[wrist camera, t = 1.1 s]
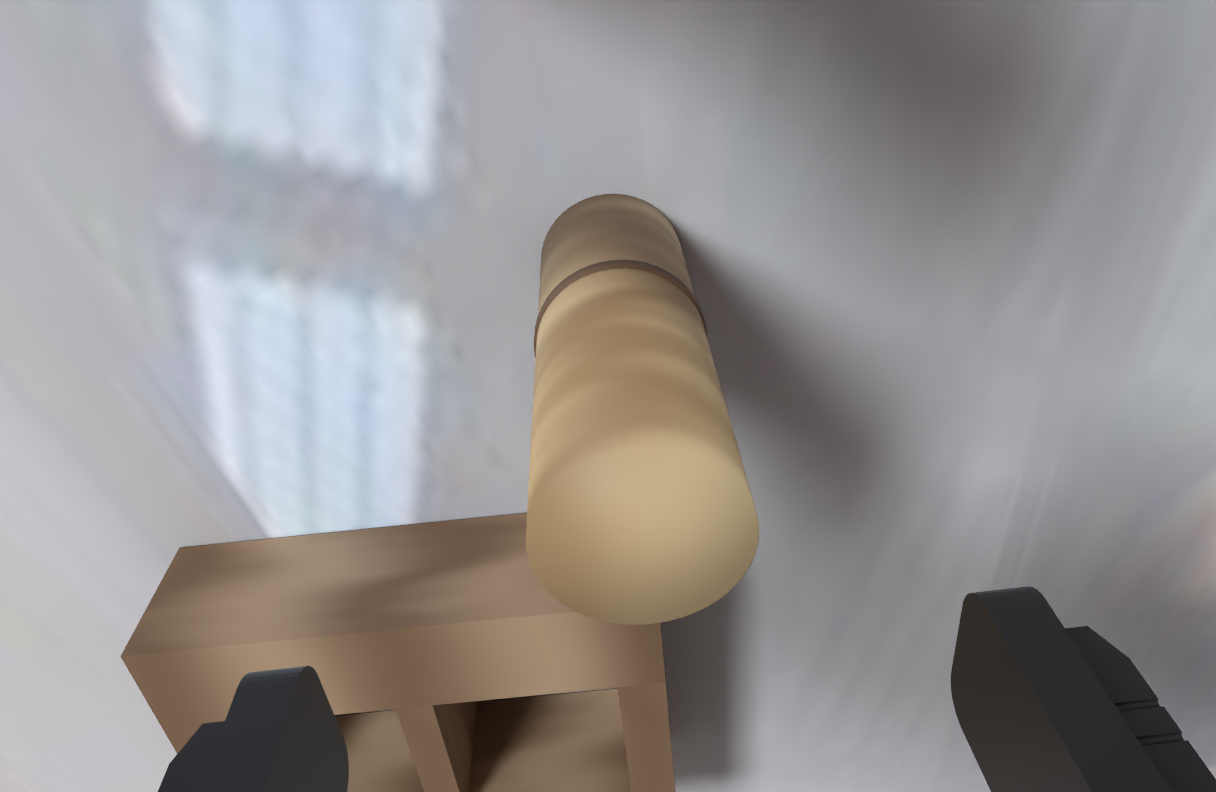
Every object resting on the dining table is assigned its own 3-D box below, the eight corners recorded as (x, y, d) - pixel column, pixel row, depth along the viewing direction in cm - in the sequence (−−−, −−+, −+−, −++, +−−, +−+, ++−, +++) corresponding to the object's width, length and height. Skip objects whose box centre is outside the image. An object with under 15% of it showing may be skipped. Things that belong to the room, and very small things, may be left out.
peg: (680, 184, 20) (762, 432, 12) (686, 318, 22) (762, 615, 14) (529, 200, 20) (504, 458, 12) (549, 332, 22) (539, 637, 14)
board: (645, 500, 25) (658, 603, 22) (667, 739, 31) (680, 849, 28) (179, 547, 25) (120, 656, 22) (289, 776, 31) (256, 889, 28)
